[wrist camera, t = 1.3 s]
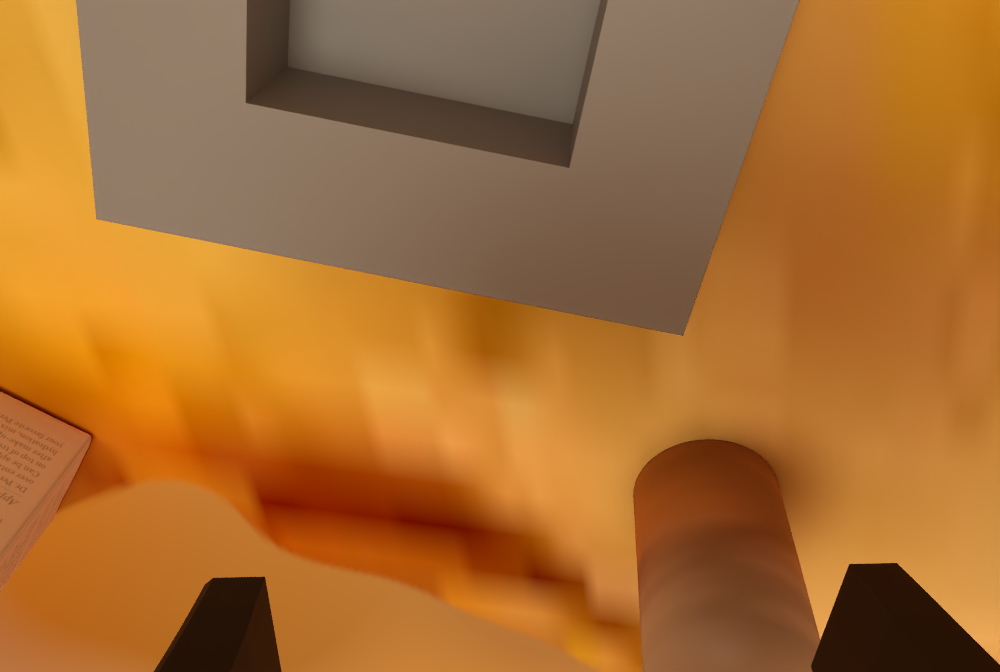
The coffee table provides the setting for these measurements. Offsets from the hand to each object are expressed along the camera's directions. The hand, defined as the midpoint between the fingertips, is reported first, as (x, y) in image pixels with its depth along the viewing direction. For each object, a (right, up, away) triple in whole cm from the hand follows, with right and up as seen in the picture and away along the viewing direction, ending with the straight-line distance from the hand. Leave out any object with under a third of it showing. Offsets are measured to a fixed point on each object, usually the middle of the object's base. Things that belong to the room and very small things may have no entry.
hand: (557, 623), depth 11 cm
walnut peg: (+5, -1, +13) cm, 14 cm away
